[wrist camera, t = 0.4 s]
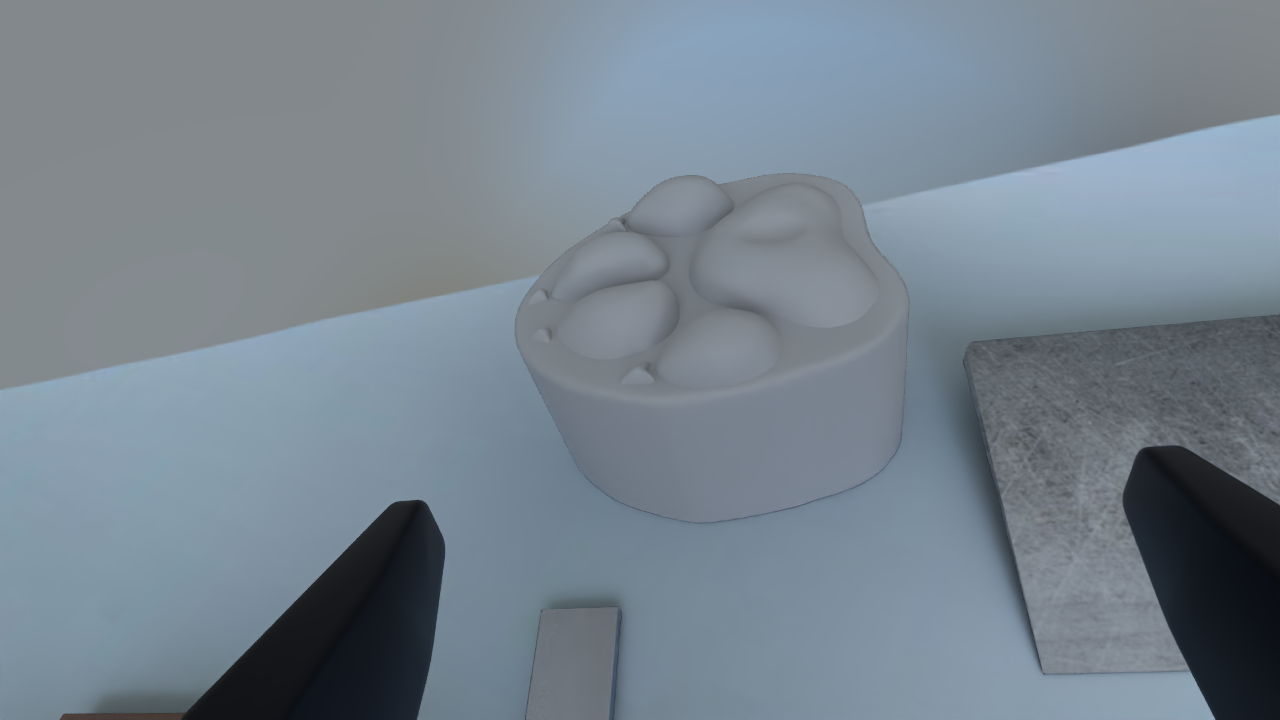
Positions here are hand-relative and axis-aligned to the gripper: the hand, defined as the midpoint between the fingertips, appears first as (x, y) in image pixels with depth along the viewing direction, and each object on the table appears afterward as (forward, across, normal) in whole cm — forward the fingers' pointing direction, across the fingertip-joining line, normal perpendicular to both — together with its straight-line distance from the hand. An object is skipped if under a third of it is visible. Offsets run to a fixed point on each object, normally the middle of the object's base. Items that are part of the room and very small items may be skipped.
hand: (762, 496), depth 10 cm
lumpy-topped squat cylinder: (+17, +1, +13) cm, 21 cm away
